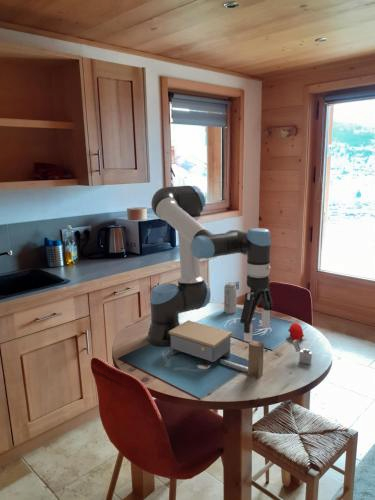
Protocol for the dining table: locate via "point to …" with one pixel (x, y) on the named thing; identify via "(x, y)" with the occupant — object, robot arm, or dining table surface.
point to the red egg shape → (296, 331)
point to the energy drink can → (230, 298)
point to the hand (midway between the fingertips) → (257, 333)
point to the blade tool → (251, 360)
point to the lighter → (303, 353)
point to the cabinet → (200, 340)
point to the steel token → (203, 365)
